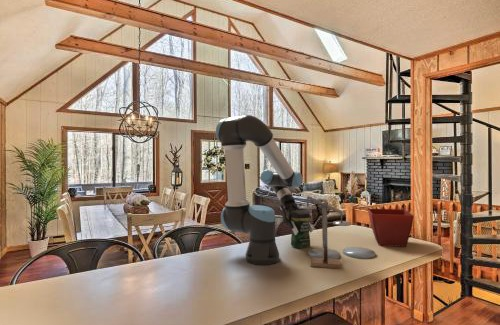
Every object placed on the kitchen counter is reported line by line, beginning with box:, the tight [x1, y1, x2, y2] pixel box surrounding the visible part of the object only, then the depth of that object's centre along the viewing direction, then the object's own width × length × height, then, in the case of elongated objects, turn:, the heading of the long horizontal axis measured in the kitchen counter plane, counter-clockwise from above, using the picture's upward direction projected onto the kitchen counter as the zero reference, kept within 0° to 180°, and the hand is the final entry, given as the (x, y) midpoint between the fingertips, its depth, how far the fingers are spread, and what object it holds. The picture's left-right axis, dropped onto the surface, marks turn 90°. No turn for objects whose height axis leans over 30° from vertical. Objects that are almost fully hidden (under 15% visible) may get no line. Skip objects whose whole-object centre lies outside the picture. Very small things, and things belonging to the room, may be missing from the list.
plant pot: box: [367, 208, 414, 247], centre depth 150 cm, size 19×19×17 cm
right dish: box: [342, 246, 376, 259], centre depth 132 cm, size 14×14×1 cm
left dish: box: [308, 247, 341, 259], centre depth 130 cm, size 14×14×1 cm
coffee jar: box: [290, 209, 311, 249], centre depth 146 cm, size 10×8×19 cm
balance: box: [300, 195, 352, 269], centre depth 118 cm, size 21×7×29 cm, turn 78°
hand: (304, 232), depth 143 cm, fingers closed on coffee jar, 9 cm apart
